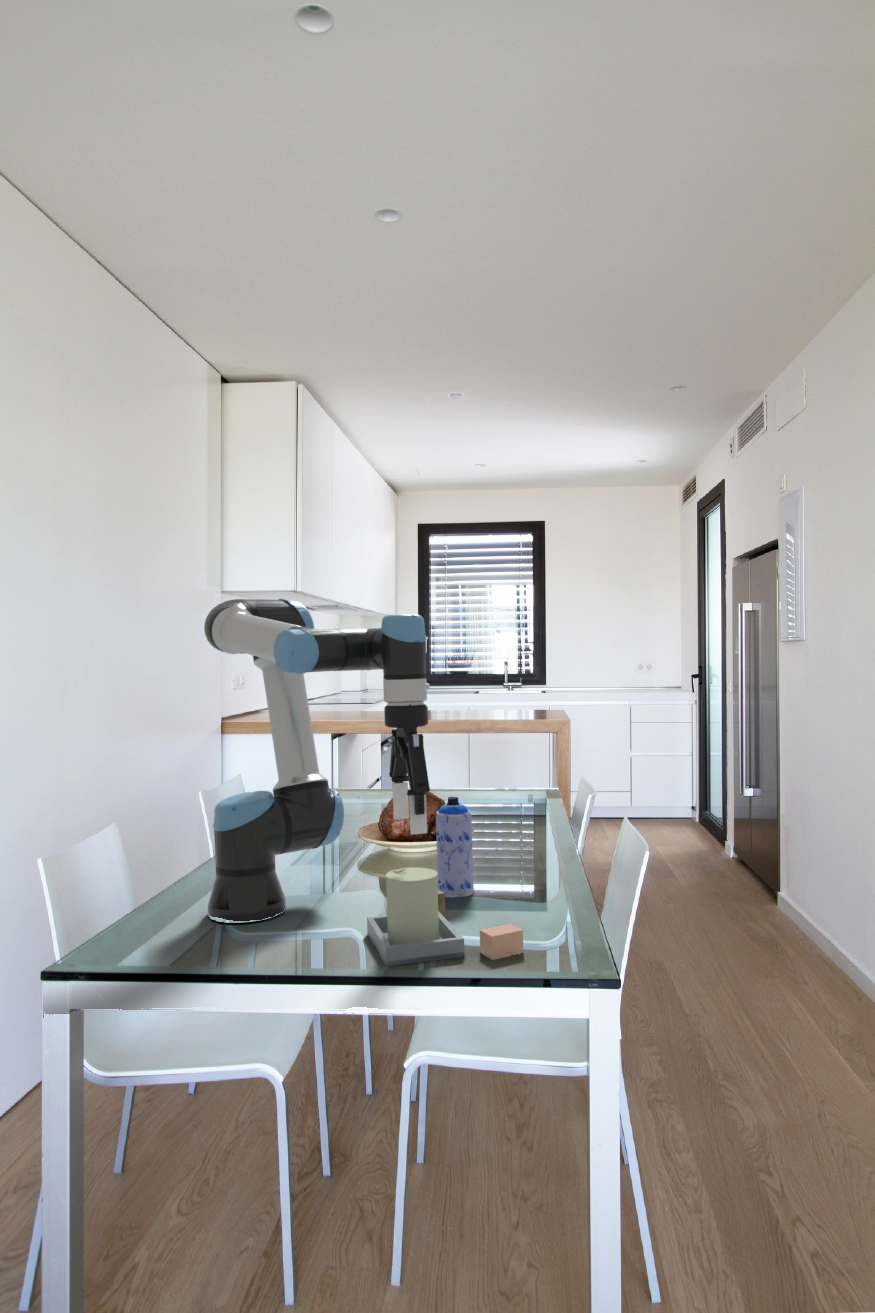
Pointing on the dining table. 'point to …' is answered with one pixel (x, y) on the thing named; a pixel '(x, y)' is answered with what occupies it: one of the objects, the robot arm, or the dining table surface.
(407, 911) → the can
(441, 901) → the walnut block
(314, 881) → the dining table surface
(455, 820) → the aerosol can
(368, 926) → the tray
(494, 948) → the soap block
